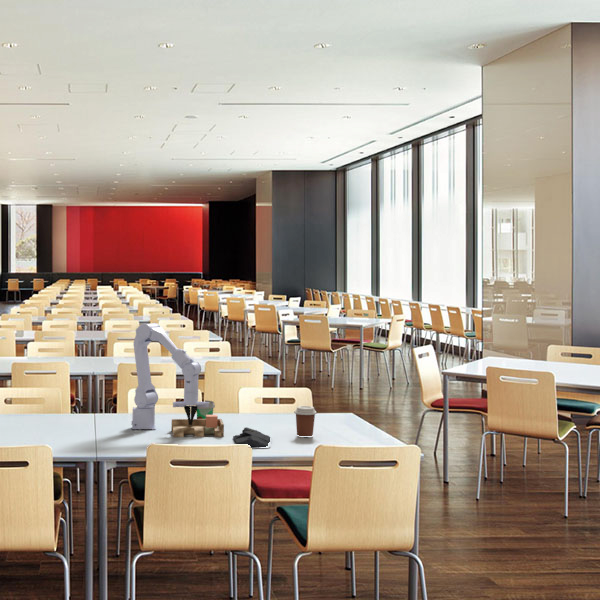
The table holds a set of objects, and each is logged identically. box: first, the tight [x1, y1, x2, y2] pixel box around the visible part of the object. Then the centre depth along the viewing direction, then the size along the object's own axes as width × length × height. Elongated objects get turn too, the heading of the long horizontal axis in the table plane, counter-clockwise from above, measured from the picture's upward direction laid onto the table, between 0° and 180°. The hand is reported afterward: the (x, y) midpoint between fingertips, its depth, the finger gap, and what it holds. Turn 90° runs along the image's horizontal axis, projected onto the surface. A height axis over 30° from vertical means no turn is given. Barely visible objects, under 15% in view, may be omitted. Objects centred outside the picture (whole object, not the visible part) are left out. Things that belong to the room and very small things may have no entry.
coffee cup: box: [293, 405, 317, 436], centre depth 341 cm, size 9×9×12 cm
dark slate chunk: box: [232, 427, 271, 448], centre depth 325 cm, size 15×22×5 cm
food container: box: [196, 399, 216, 419], centre depth 361 cm, size 12×6×10 cm, turn 168°
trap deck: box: [170, 418, 225, 438], centre depth 341 cm, size 20×13×5 cm, turn 100°
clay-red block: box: [206, 414, 219, 428], centre depth 345 cm, size 4×4×4 cm
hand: (190, 424), depth 343 cm, fingers closed
